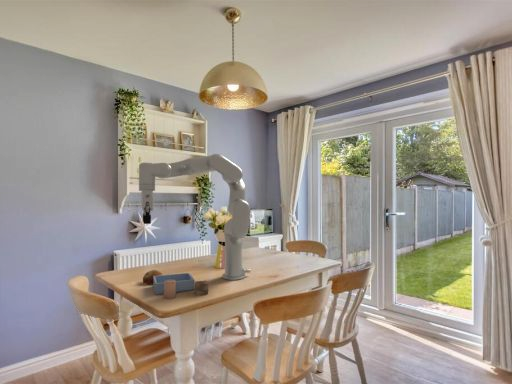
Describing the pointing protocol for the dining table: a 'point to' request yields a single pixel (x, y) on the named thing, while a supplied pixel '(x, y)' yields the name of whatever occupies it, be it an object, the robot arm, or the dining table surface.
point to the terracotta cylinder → (169, 289)
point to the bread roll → (150, 276)
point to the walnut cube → (201, 288)
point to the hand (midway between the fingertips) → (146, 222)
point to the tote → (182, 282)
